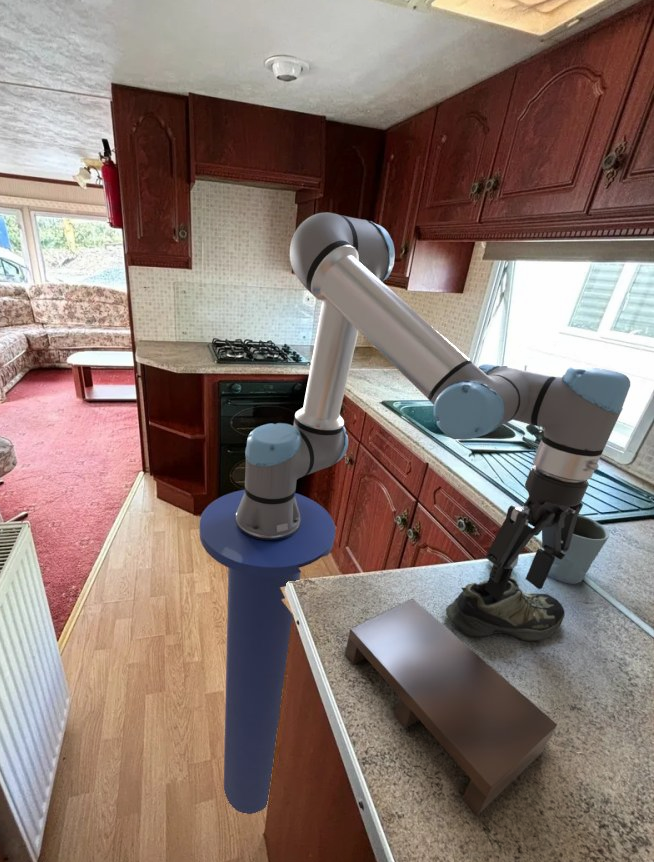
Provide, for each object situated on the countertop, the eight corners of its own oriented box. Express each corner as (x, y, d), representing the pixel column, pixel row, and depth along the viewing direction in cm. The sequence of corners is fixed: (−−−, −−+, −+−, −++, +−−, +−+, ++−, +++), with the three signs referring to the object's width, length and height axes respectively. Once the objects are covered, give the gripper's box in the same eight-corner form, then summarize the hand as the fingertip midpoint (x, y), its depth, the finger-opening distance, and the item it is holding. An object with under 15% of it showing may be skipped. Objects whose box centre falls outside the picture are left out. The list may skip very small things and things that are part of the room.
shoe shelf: (344, 655, 65) (349, 628, 63) (405, 623, 72) (412, 598, 69) (476, 816, 47) (491, 787, 44) (541, 753, 53) (557, 724, 51)
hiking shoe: (573, 639, 71) (594, 599, 67) (463, 648, 68) (478, 606, 64) (539, 603, 79) (555, 565, 75) (438, 609, 75) (450, 570, 72)
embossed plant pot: (596, 579, 86) (619, 533, 82) (568, 592, 82) (591, 544, 77) (550, 551, 95) (569, 507, 90) (522, 561, 90) (540, 516, 85)
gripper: (530, 492, 54) (483, 619, 63) (632, 476, 61) (577, 591, 70) (486, 467, 60) (449, 586, 69) (583, 456, 68) (538, 564, 77)
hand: (513, 588), depth 70 cm, fingers open, 9 cm apart
